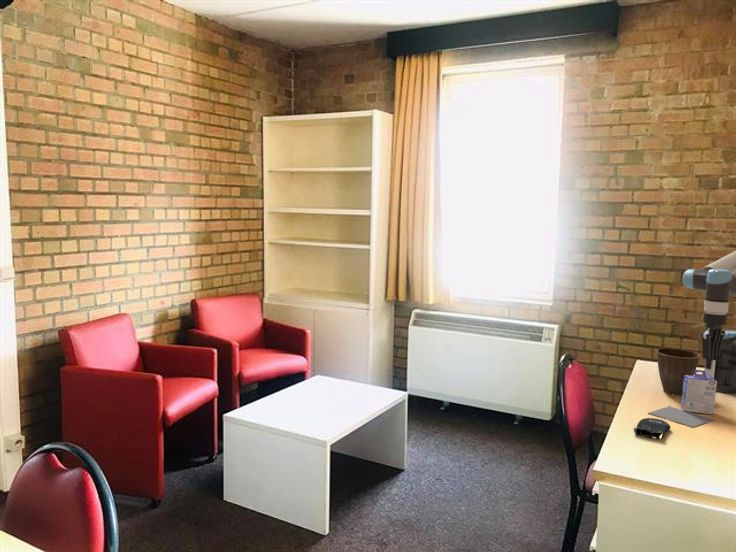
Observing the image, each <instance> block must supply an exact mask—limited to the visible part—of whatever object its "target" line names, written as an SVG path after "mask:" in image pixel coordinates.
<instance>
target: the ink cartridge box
mask: <svg viewBox="0 0 736 552" xmlns="http://www.w3.org/2000/svg"><path fill="white" fill-rule="evenodd" d="M701 373H704V374H703V375H702V374H701ZM716 386H717V380H715V379H714V378H712V377H706V373H705V371H704V369H703V370H702V369H701V370H700V369H696V370H695V373H694V376H688V375H684V383H683V395H681V396H682V397H681V406H680V408H681V410H684V411H687V412H691V413H697V414H698V413H700V414H706V415H707V414H709V415H714V413H715V404H716V403H715V401H716V394H717V391H716Z"/></svg>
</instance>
